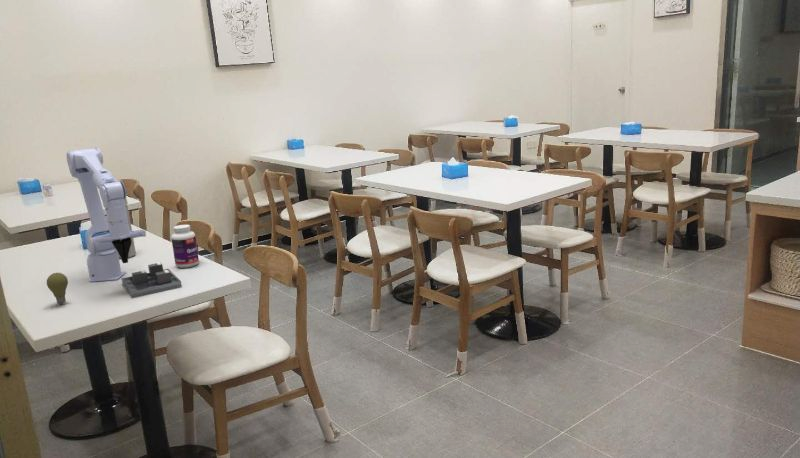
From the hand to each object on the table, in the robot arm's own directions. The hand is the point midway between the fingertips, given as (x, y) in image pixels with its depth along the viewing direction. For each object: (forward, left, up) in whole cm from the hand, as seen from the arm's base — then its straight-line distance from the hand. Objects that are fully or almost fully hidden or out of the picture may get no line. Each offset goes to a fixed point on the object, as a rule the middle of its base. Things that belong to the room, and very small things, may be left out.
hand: (125, 262), depth 193 cm
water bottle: (-17, +41, -10) cm, 46 cm away
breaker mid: (+3, +2, -8) cm, 9 cm away
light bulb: (-17, -9, -10) cm, 22 cm away
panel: (+6, +3, -9) cm, 11 cm away
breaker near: (+11, 0, -8) cm, 14 cm away
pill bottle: (+12, +23, -10) cm, 28 cm away
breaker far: (+6, +9, -8) cm, 14 cm away
